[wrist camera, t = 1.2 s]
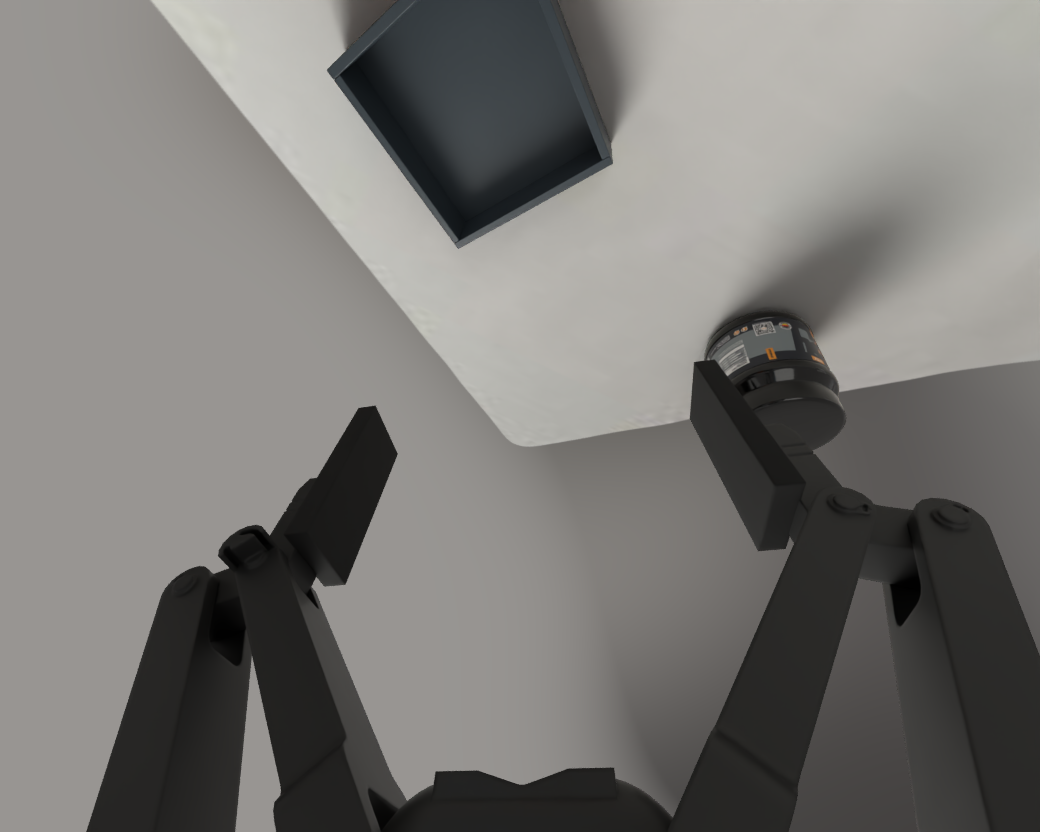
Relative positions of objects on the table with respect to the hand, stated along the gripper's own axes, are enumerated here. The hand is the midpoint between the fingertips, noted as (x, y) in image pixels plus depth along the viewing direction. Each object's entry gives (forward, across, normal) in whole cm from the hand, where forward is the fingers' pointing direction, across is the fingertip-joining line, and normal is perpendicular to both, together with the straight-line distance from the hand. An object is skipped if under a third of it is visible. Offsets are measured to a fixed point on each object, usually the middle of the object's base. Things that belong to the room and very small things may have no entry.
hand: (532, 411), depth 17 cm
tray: (+24, -2, +11) cm, 27 cm away
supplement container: (+28, +22, -14) cm, 39 cm away
